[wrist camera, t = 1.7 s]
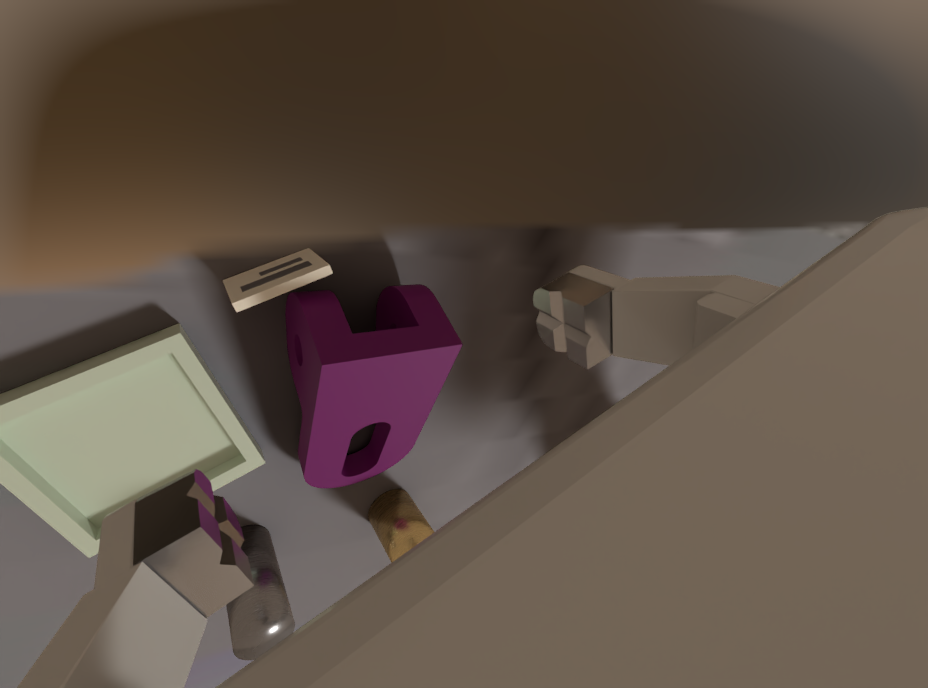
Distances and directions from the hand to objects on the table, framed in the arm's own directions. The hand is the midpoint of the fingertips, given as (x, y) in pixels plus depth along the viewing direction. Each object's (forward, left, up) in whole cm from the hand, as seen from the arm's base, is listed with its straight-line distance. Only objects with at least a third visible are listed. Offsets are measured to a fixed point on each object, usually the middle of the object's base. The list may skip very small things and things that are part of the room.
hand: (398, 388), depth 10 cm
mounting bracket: (-15, -2, -25) cm, 29 cm away
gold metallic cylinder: (-31, -1, -24) cm, 39 cm away
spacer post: (-25, +11, -24) cm, 37 cm away
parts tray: (-11, +12, -24) cm, 29 cm away
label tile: (-4, 0, -24) cm, 25 cm away
